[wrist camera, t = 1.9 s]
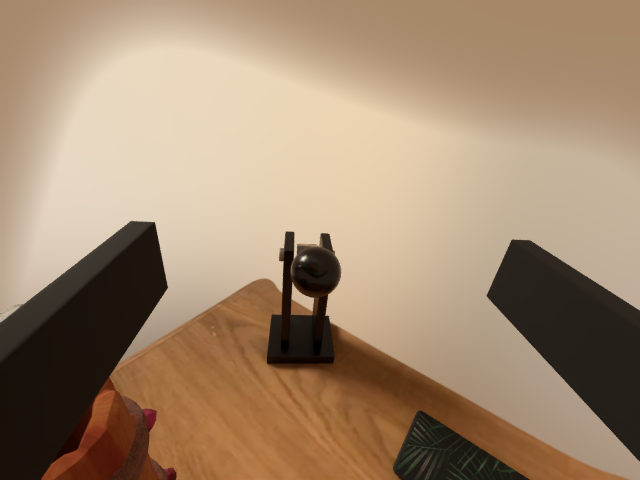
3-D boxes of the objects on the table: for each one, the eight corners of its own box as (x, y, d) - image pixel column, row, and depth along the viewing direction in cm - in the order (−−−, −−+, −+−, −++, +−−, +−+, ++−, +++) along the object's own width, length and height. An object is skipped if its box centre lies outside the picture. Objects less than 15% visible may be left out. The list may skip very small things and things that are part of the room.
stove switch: (333, 363, 34) (350, 260, 28) (266, 363, 34) (267, 256, 27) (328, 321, 40) (340, 229, 34) (271, 320, 40) (272, 225, 33)
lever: (343, 304, 19) (347, 249, 18) (289, 303, 18) (291, 247, 18) (321, 270, 33) (322, 239, 33) (289, 269, 32) (291, 238, 32)
